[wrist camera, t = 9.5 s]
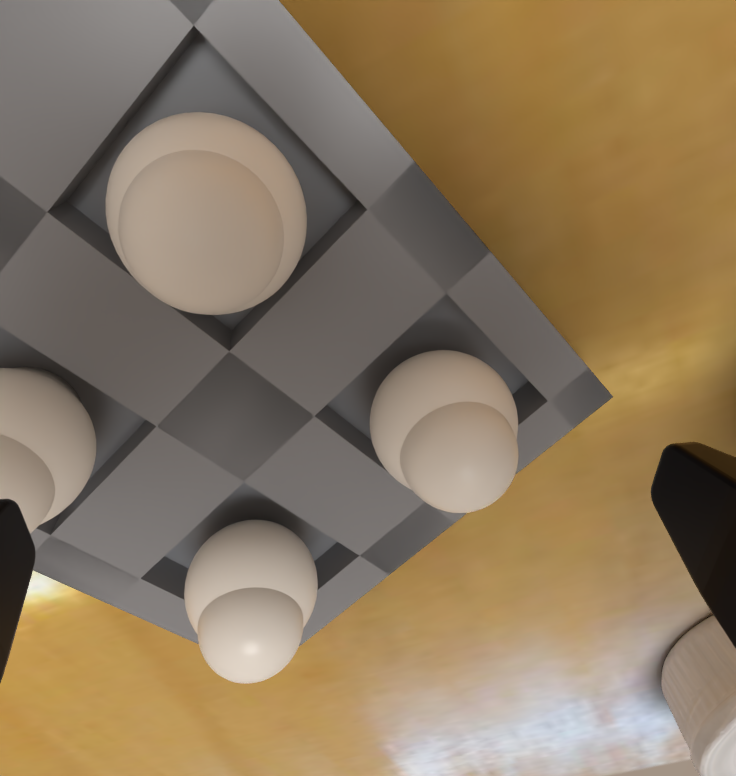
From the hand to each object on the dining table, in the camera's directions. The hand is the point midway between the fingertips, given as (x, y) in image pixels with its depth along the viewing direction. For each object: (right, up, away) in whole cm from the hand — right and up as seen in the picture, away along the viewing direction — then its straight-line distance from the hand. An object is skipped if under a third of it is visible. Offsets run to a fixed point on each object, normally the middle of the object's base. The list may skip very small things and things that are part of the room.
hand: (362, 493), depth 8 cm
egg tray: (-7, +4, +10) cm, 13 cm away
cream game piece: (-11, +1, +10) cm, 14 cm away
